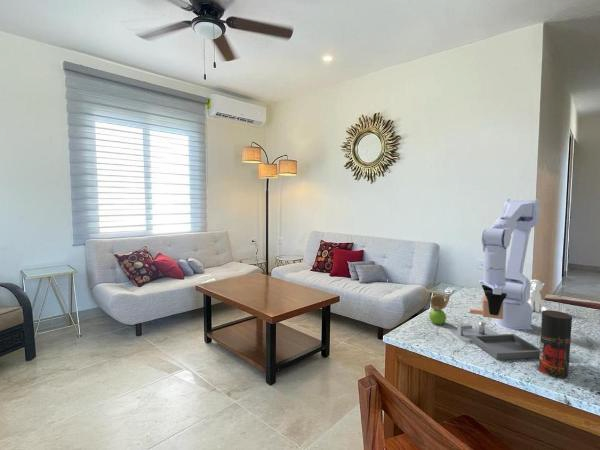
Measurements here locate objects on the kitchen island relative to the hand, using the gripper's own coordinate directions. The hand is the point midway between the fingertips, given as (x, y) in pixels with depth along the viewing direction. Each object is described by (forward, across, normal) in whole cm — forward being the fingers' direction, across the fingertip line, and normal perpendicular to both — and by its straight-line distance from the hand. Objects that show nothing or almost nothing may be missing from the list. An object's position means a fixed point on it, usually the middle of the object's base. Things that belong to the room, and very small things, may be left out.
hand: (492, 311), depth 102 cm
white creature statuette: (+9, -38, +19) cm, 44 cm away
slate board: (+9, -3, -4) cm, 11 cm away
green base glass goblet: (+10, -8, -15) cm, 20 cm away
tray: (+9, +6, +3) cm, 11 cm away
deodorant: (+10, +15, +12) cm, 21 cm away
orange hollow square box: (+1, 0, -2) cm, 2 cm away
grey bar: (+9, -2, -5) cm, 10 cm away
